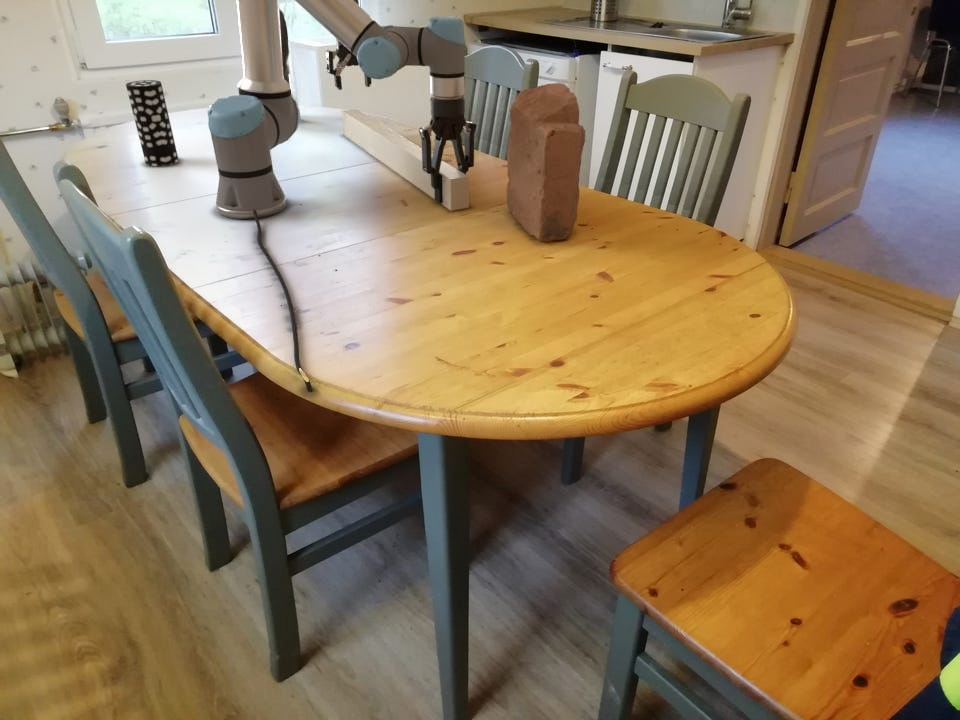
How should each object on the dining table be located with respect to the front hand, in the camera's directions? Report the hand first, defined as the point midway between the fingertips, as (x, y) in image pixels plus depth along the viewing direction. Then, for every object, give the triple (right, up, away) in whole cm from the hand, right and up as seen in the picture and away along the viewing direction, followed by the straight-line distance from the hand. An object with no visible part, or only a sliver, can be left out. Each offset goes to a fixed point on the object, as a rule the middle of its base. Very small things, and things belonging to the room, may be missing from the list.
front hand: (449, 199), depth 163 cm
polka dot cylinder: (-79, +24, +18) cm, 84 cm away
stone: (+21, -8, -11) cm, 25 cm away
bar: (-15, +14, +23) cm, 31 cm away
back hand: (-29, +41, +37) cm, 63 cm away
